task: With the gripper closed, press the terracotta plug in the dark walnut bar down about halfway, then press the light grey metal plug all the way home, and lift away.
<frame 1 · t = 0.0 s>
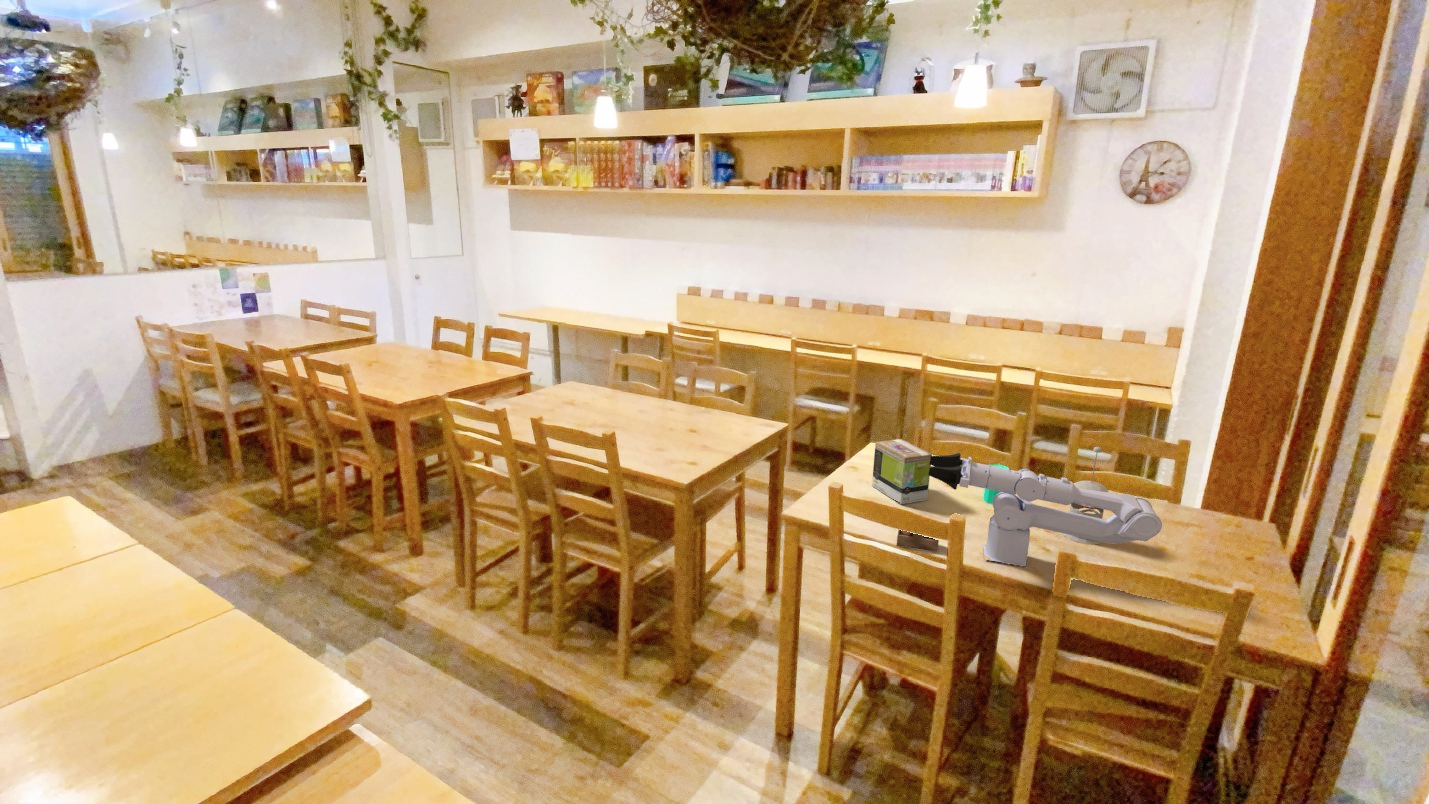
hand: (929, 465, 172), 22 cm above the table, tool horizontal, fingers open, 7 cm apart
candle: (993, 501, 204), on the table
plug block: (917, 544, 177), on the table
tea box: (898, 493, 209), on the table
terracotta plug: (906, 527, 177), point 4 cm above the table, slide at 0.0 cm
grey plug: (931, 531, 175), point 4 cm above the table, slide at 0.0 cm
french press: (1085, 537, 183), on the table
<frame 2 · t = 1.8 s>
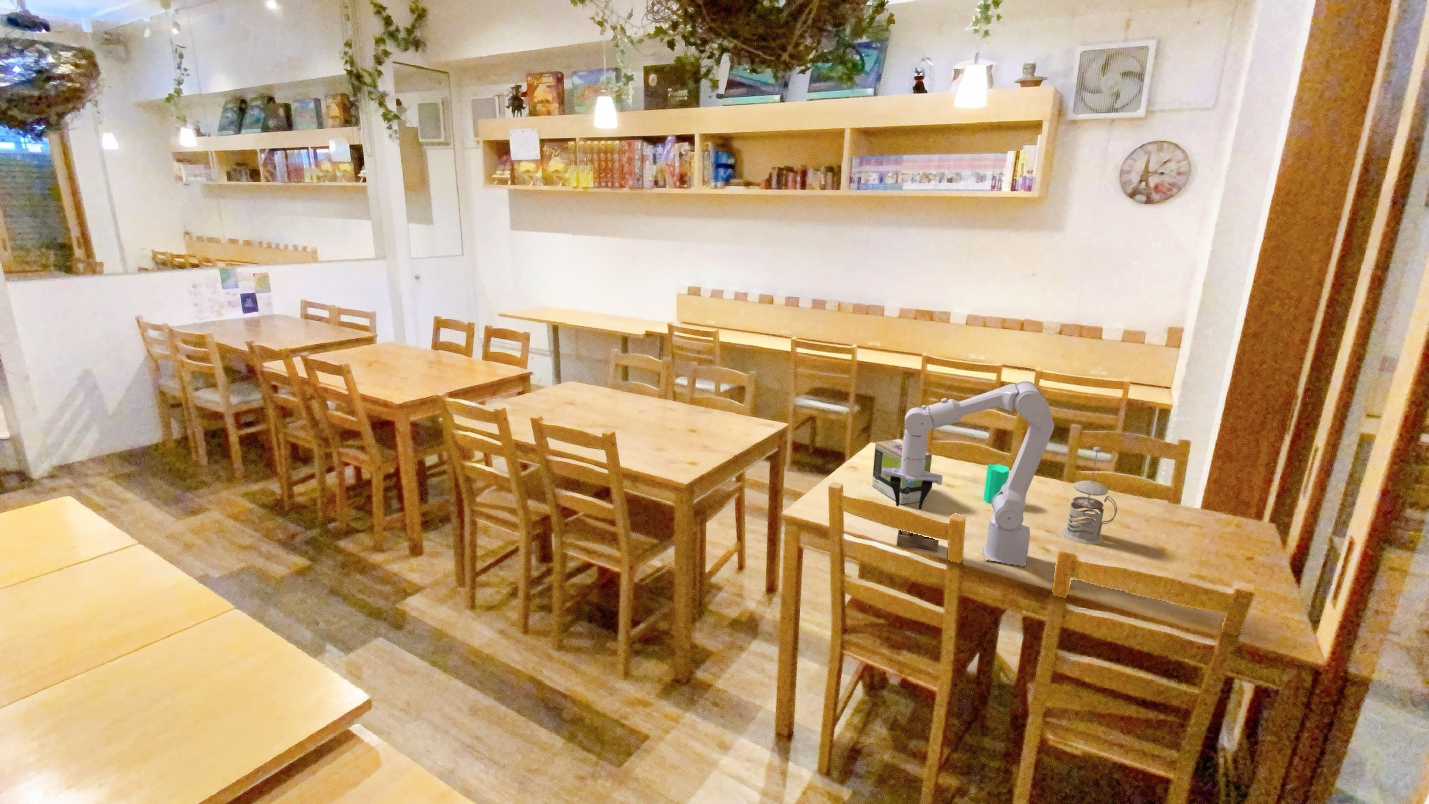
hand: (908, 506, 175), 10 cm above the table, tool pointing down, fingers open, 5 cm apart
nothing on the table moved.
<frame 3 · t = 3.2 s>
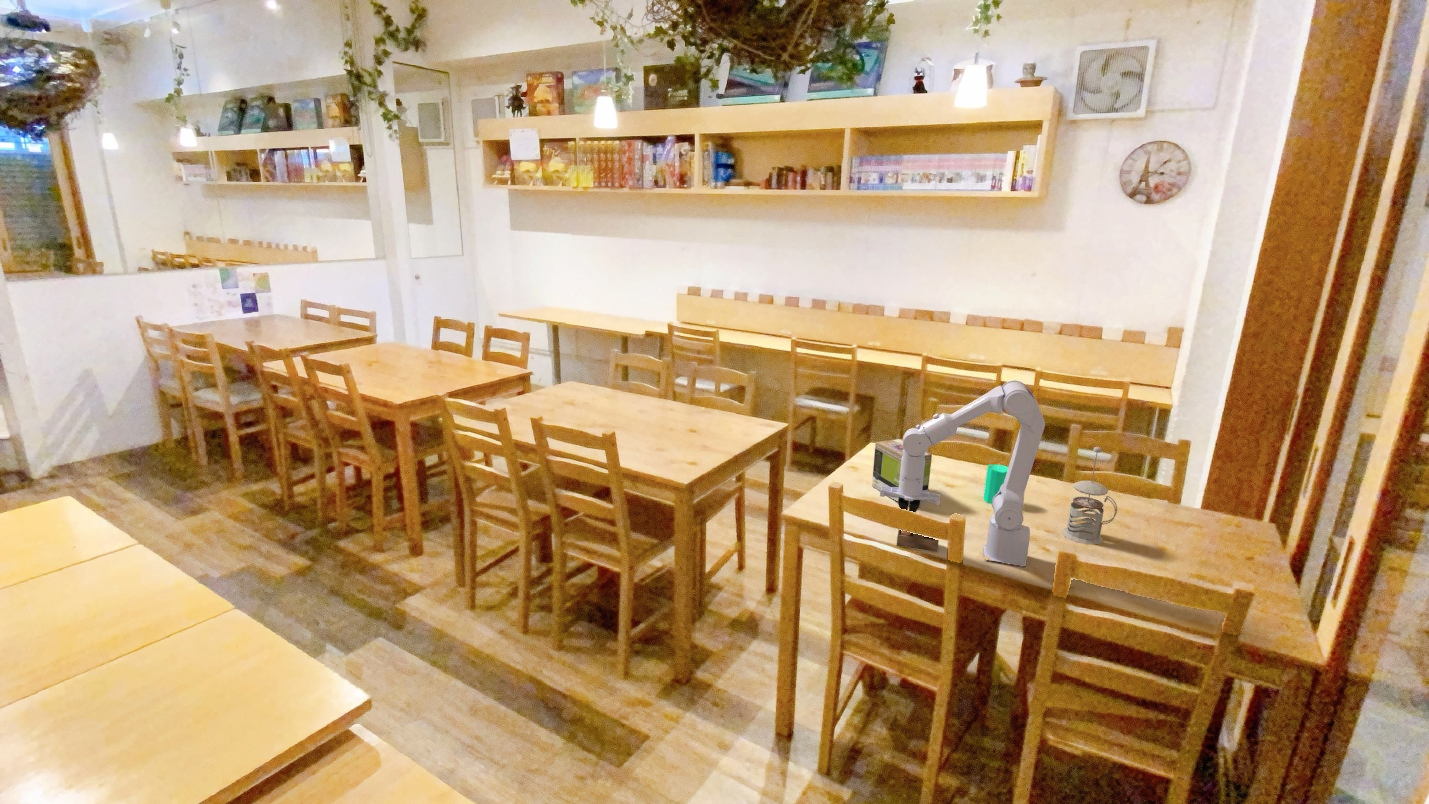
hand: (906, 525, 177), 5 cm above the table, tool pointing down, fingers closed, pressing on terracotta plug
terracotta plug: (906, 531, 177), point 3 cm above the table, slide at 0.9 cm, touching gripper
everything else where it was.
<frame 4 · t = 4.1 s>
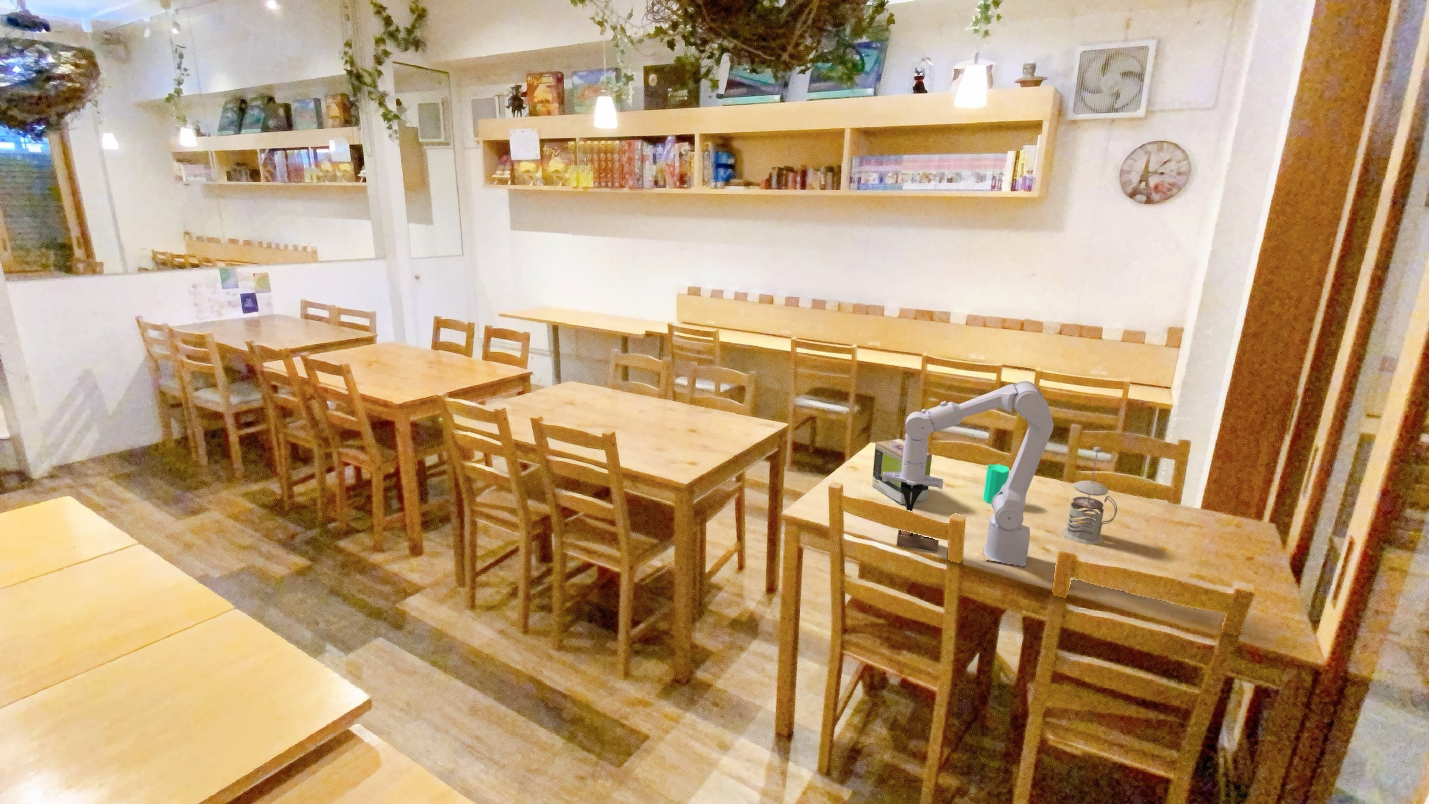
hand: (909, 510, 175), 9 cm above the table, tool pointing down, fingers closed
terracotta plug: (906, 531, 177), point 3 cm above the table, slide at 0.9 cm
everything else where it was.
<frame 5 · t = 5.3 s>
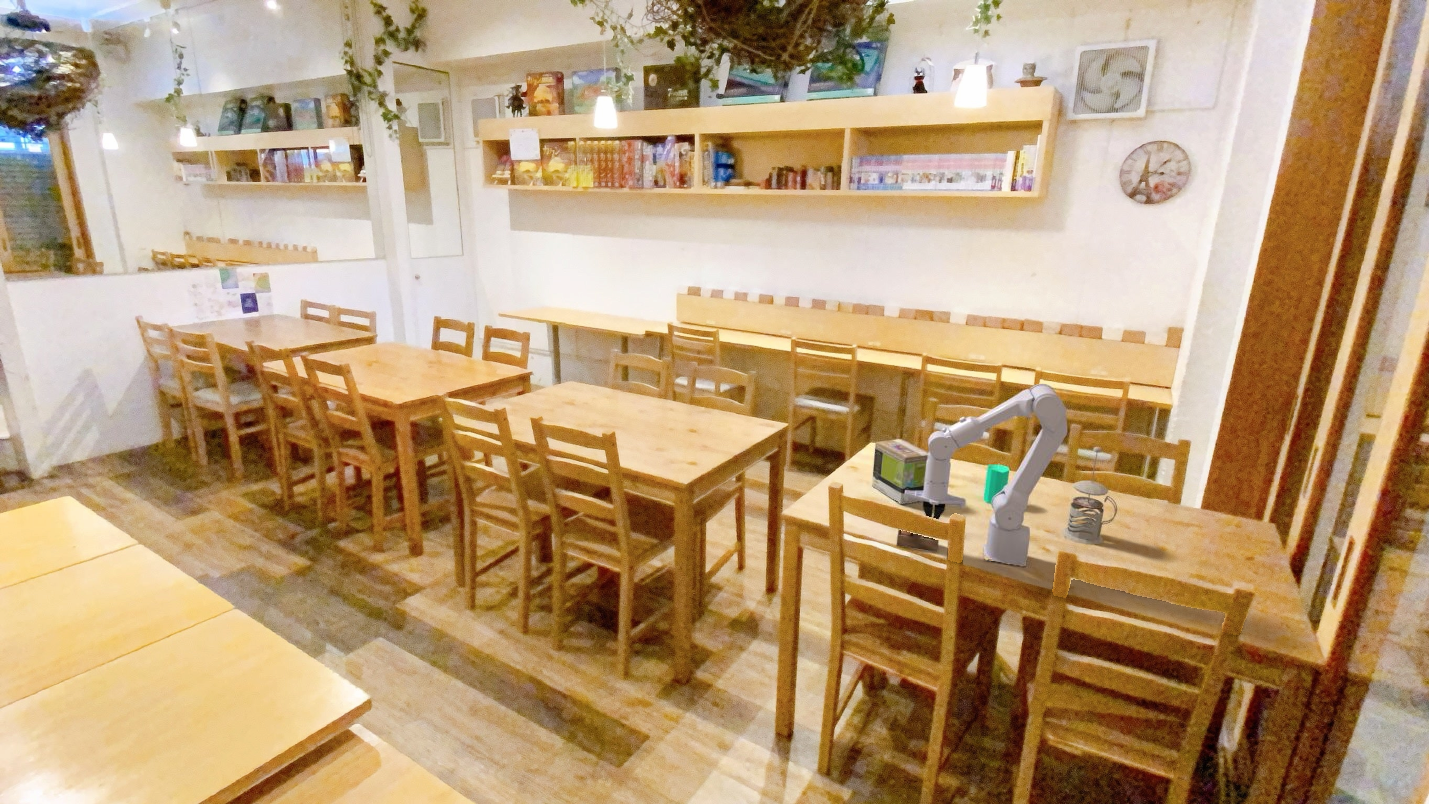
hand: (931, 529, 175), 5 cm above the table, tool pointing down, fingers closed, pressing on grey plug
grey plug: (930, 535, 175), point 3 cm above the table, slide at 1.0 cm, touching gripper
everything else where it was.
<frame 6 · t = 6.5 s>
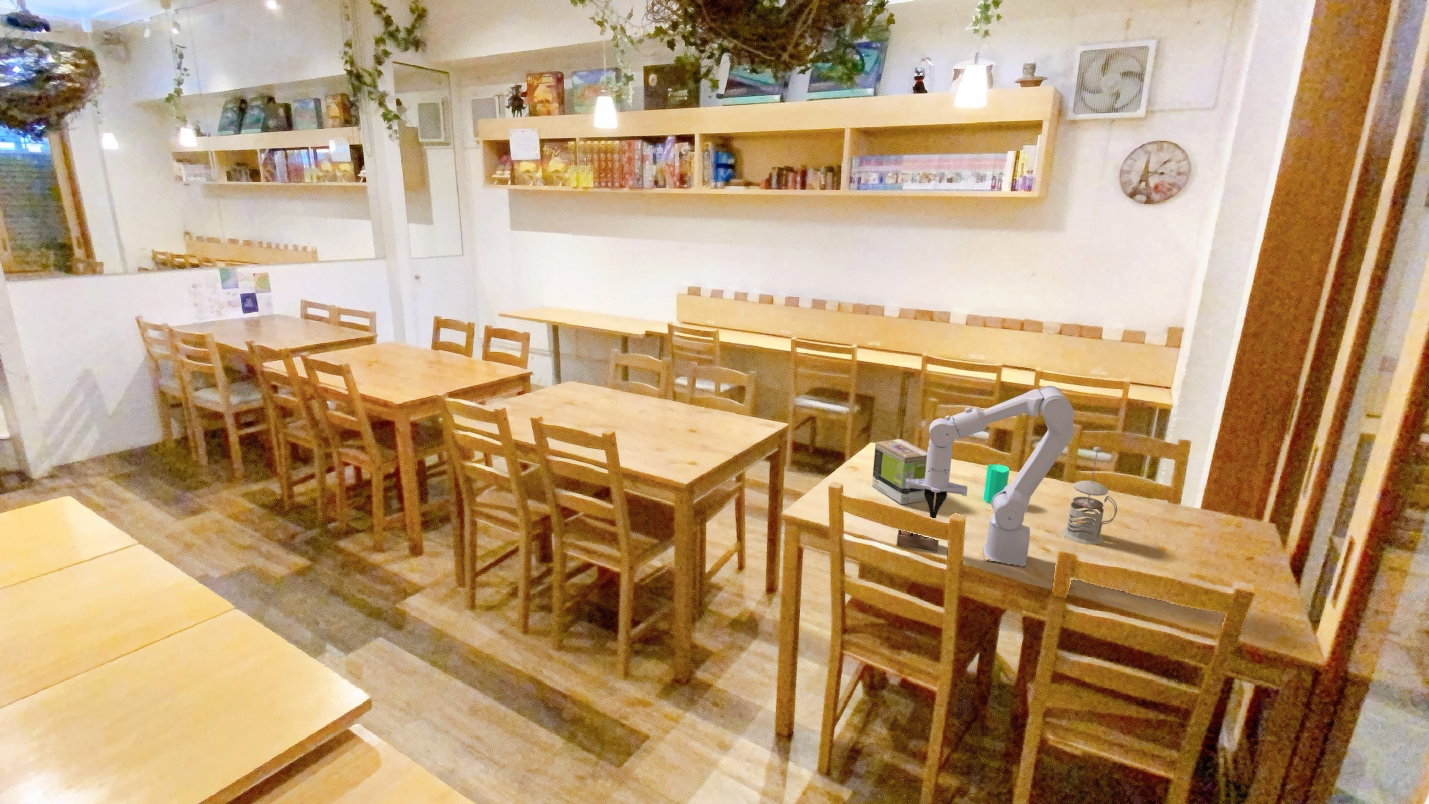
hand: (932, 517, 174), 8 cm above the table, tool pointing down, fingers closed
grey plug: (930, 538, 176), point 2 cm above the table, slide at 2.1 cm
everything else where it was.
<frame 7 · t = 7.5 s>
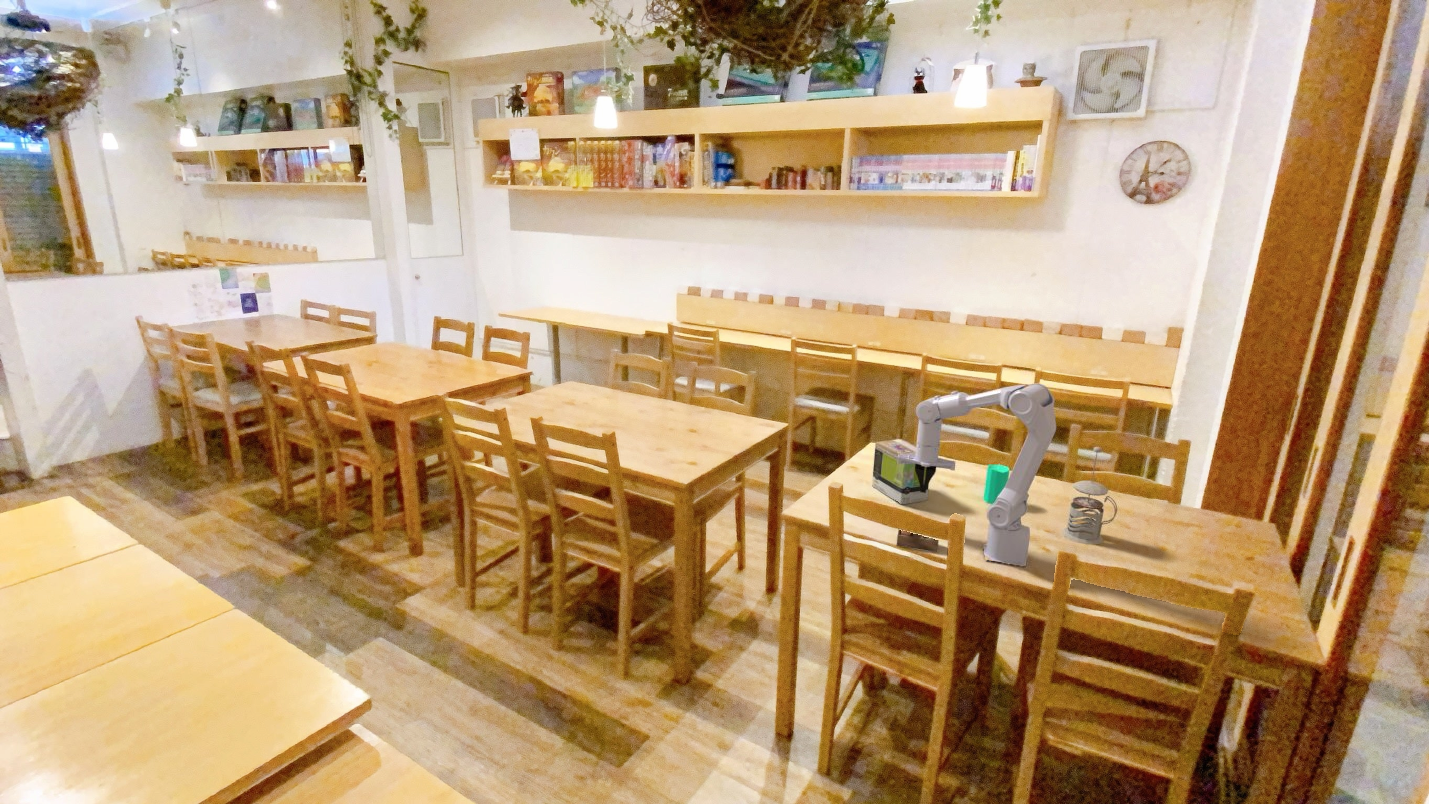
hand: (923, 491, 184), 10 cm above the table, tool pointing down, fingers closed
nothing on the table moved.
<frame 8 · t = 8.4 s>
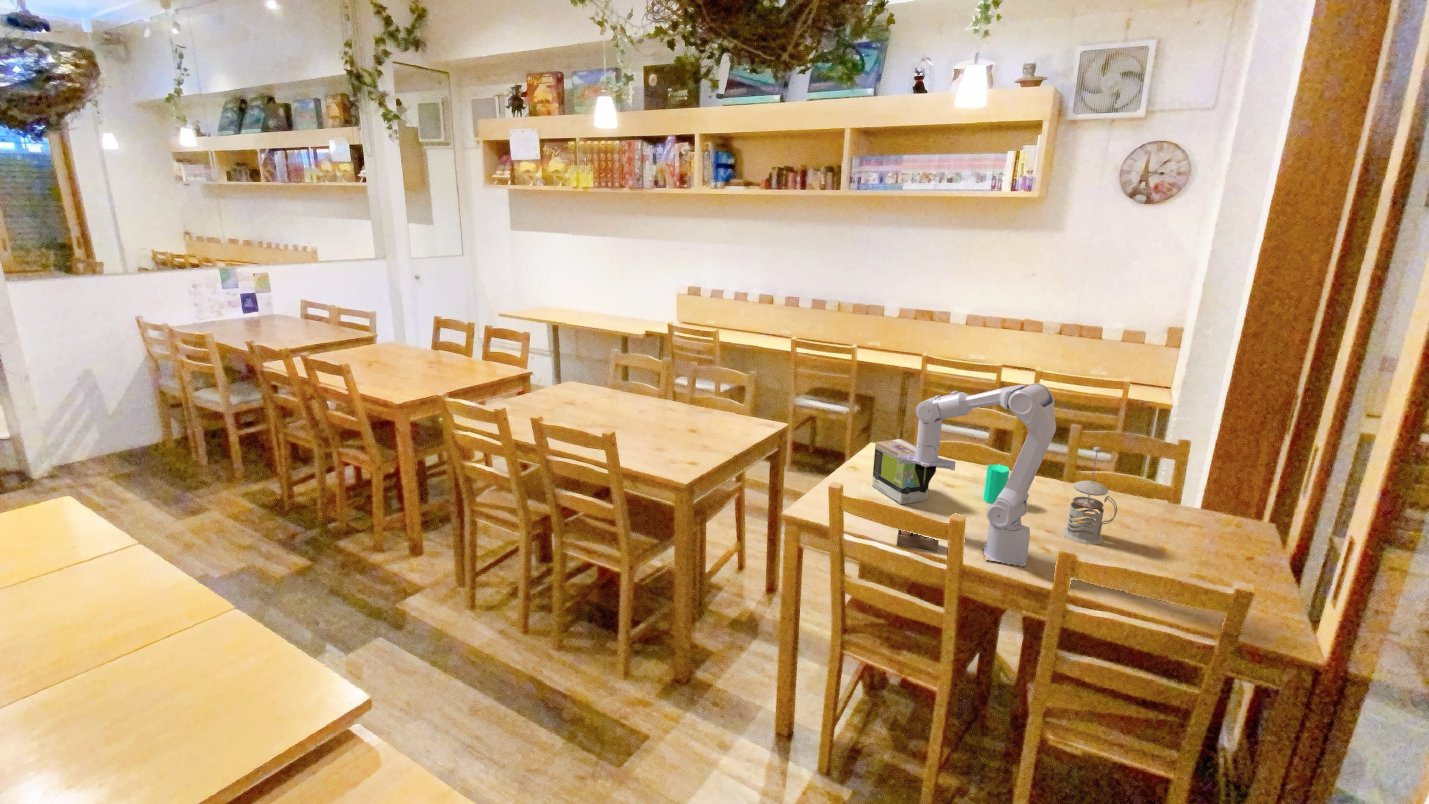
hand: (923, 491, 184), 10 cm above the table, tool pointing down, fingers closed
nothing on the table moved.
at the end: terracotta plug slide at 0.9 cm; grey plug slide at 2.1 cm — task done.
